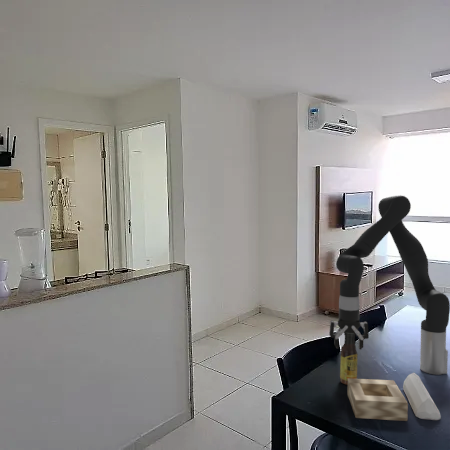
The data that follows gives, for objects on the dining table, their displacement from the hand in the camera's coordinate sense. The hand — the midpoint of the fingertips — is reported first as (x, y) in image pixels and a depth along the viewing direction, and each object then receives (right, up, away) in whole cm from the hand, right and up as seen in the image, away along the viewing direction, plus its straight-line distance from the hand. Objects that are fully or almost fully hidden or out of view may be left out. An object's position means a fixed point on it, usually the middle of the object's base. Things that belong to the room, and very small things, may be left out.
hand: (348, 348), depth 156 cm
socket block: (+4, -15, -18) cm, 23 cm away
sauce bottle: (0, -14, +1) cm, 14 cm away
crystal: (+20, -15, -16) cm, 30 cm away
